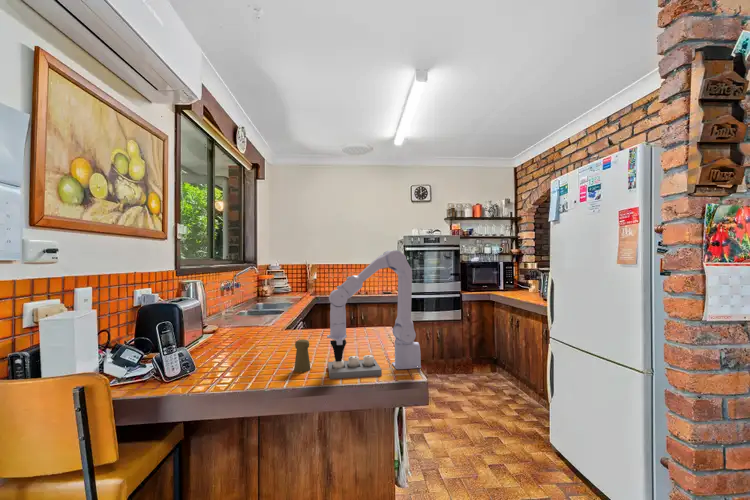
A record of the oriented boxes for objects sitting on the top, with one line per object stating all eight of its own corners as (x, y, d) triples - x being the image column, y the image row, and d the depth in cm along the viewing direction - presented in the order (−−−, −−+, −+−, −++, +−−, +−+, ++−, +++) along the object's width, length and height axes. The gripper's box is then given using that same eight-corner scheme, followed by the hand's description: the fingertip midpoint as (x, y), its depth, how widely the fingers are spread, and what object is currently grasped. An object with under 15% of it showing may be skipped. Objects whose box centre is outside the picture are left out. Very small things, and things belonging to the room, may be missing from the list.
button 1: (372, 362, 137) (372, 354, 137) (374, 365, 134) (374, 357, 134) (362, 363, 137) (362, 355, 137) (364, 366, 133) (364, 357, 133)
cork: (312, 367, 140) (312, 338, 140) (308, 372, 134) (307, 341, 134) (296, 367, 140) (296, 338, 140) (291, 372, 134) (291, 341, 134)
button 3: (343, 367, 135) (343, 359, 135) (344, 370, 132) (344, 361, 132) (333, 368, 135) (332, 359, 135) (333, 371, 131) (333, 362, 131)
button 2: (358, 363, 136) (358, 355, 136) (359, 366, 133) (359, 358, 133) (348, 364, 136) (347, 356, 136) (349, 367, 132) (348, 358, 132)
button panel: (374, 364, 143) (374, 359, 143) (381, 375, 129) (381, 369, 129) (328, 367, 139) (327, 361, 139) (329, 378, 126) (329, 373, 126)
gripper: (326, 320, 140) (326, 356, 140) (327, 326, 126) (328, 367, 125) (344, 319, 141) (345, 355, 141) (348, 326, 127) (348, 365, 127)
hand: (338, 360), depth 133 cm, fingers closed, pressing on button 3
